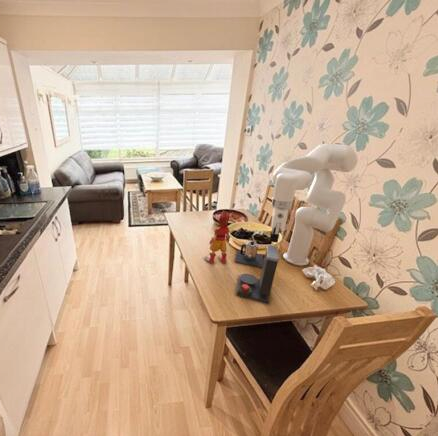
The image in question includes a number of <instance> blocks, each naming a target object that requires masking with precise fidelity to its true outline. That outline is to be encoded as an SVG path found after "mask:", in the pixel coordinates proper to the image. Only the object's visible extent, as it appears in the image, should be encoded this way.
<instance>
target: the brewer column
mask: <svg viewBox="0 0 438 436" xmlns="http://www.w3.org/2000/svg"><path fill="white" fill-rule="evenodd" d="M279 257H280V256H279V248H278V246H276V245H271V244H267V245H266V250H265V255H264V258H263V268H261V272H260V276H259V280H260V289H259V293H261V294H265V295H268V296H270V295H271V290H272V287H273V283H274V279H275V275H276V272H277V267H278V263H279V260H280V258H279ZM239 278H240V279H241V281H243V282H244V283H246V284H251V285H253V284H256V283H257V281H258V280H257V279H258V278H257V277H256V276H255V275H254V274H250V273H241V274H240V275H239Z"/></svg>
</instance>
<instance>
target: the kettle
mask: <svg viewBox="0 0 438 436" xmlns="http://www.w3.org/2000/svg"><path fill="white" fill-rule="evenodd" d="M258 249H259V244H258V243H257V242H255V241H253V240H249V241H246V242H245V243H242V244H241V247H240V250H241V252H240V254H241V255H243V258H244V259H245V260H247V261H255V259H256V255H257V254H258ZM243 251H244V253H243Z"/></svg>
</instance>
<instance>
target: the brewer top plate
mask: <svg viewBox="0 0 438 436" xmlns="http://www.w3.org/2000/svg"><path fill="white" fill-rule="evenodd" d="M236 252H237V253H236V256H235V257H236V258H235V261H234V262H235V263H236V264H240V265H245V266H250V267H255V268H259V269H262V268H263V263H264V254H261V253H257V255H256V259H255V261H247V260H245V259H244V258H243V255H241V254H240V252H241V249H237V251H236ZM243 253H244V250H243Z"/></svg>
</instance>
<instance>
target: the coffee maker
mask: <svg viewBox="0 0 438 436" xmlns="http://www.w3.org/2000/svg"><path fill="white" fill-rule="evenodd" d="M257 280H258V281H257V283H256V284H253V285H251V284H246V283H244V282H243V281H241V279H240V277H239V278H238V285H237V291H236V296H238V297H241V298H245V299H249V300H253V301H257V302H259V303H260V302H261V303H263V304H267V305H268V304H269V295H265V294H261V293H259V289H260V278H257ZM243 284H246V285H248V286H249V290H248V291H243V290H242V285H243Z"/></svg>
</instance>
